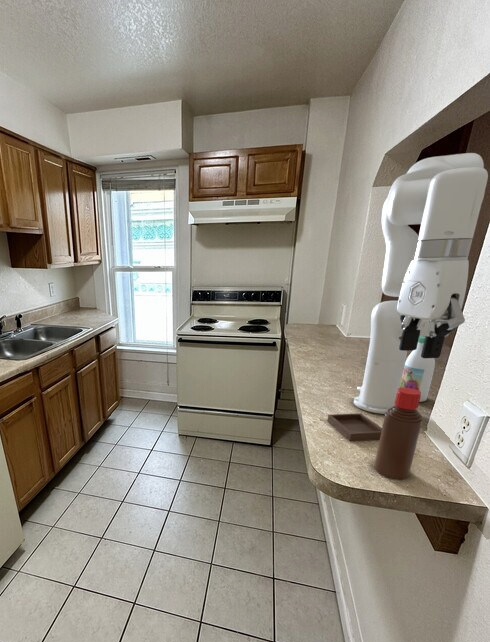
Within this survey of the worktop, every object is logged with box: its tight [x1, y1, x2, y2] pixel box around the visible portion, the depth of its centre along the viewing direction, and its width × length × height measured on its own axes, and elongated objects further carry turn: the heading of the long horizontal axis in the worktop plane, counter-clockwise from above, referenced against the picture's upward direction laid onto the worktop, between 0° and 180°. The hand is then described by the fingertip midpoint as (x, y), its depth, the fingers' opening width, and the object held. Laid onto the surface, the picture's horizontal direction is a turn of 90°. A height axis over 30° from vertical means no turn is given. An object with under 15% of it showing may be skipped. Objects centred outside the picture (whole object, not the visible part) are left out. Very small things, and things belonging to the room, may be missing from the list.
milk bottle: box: [400, 337, 436, 403], centre depth 110 cm, size 8×8×20 cm
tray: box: [326, 412, 382, 442], centre depth 94 cm, size 11×9×2 cm
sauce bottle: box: [373, 406, 424, 480], centre depth 73 cm, size 6×6×18 cm
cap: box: [395, 388, 421, 410], centre depth 70 cm, size 4×4×3 cm
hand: (418, 352), depth 67 cm, fingers open, 5 cm apart
